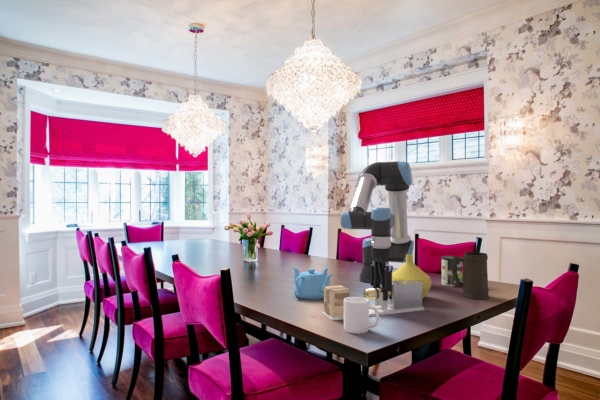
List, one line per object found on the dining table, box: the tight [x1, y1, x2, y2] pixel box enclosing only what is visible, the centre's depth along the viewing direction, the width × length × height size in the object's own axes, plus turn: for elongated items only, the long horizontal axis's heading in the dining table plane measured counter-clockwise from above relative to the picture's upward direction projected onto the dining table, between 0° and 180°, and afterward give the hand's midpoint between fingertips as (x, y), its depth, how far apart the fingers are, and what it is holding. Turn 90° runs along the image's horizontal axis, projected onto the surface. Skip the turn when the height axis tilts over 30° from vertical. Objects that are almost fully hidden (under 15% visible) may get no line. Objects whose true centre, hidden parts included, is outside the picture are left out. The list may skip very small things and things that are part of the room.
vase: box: [392, 255, 432, 300], centre depth 175 cm, size 18×18×19 cm
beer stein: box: [452, 251, 490, 301], centre depth 178 cm, size 15×11×20 cm
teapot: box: [292, 265, 334, 301], centre depth 179 cm, size 17×19×12 cm
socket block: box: [323, 284, 350, 317], centre depth 148 cm, size 7×7×10 cm
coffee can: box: [441, 255, 463, 287], centre depth 204 cm, size 10×10×14 cm
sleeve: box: [388, 280, 423, 311], centre depth 158 cm, size 7×13×10 cm, turn 110°
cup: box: [343, 296, 380, 335], centre depth 131 cm, size 8×12×10 cm
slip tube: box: [363, 287, 392, 301], centre depth 156 cm, size 20×4×4 cm, turn 110°
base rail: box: [321, 306, 425, 321], centre depth 154 cm, size 9×40×1 cm, turn 110°
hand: (380, 306), depth 155 cm, fingers closed on slip tube, 4 cm apart
